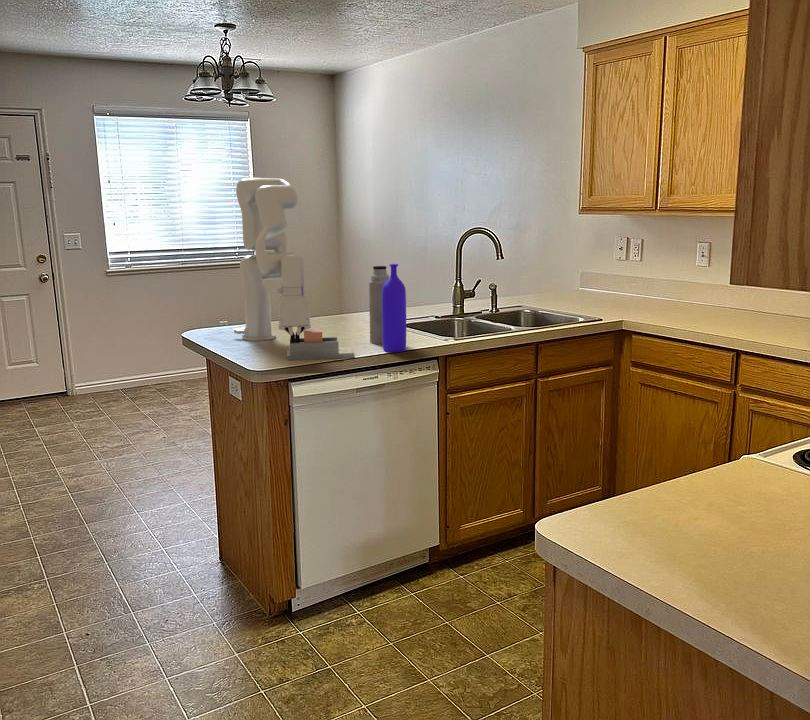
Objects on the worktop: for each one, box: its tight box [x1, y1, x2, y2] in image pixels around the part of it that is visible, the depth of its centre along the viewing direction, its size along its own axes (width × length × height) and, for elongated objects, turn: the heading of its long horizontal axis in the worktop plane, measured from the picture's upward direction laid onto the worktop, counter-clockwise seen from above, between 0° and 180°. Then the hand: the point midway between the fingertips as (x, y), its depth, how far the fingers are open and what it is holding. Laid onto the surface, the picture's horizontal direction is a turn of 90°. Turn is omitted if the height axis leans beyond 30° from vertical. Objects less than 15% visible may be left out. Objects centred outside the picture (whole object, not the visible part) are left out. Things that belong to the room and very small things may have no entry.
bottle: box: [382, 263, 407, 353], centre depth 257 cm, size 8×8×30 cm
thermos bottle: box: [368, 265, 390, 345], centre depth 272 cm, size 8×8×28 cm
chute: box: [286, 336, 355, 361], centre depth 251 cm, size 22×10×6 cm, turn 98°
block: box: [303, 328, 323, 342], centre depth 250 cm, size 6×6×7 cm
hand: (295, 346), depth 250 cm, fingers closed
